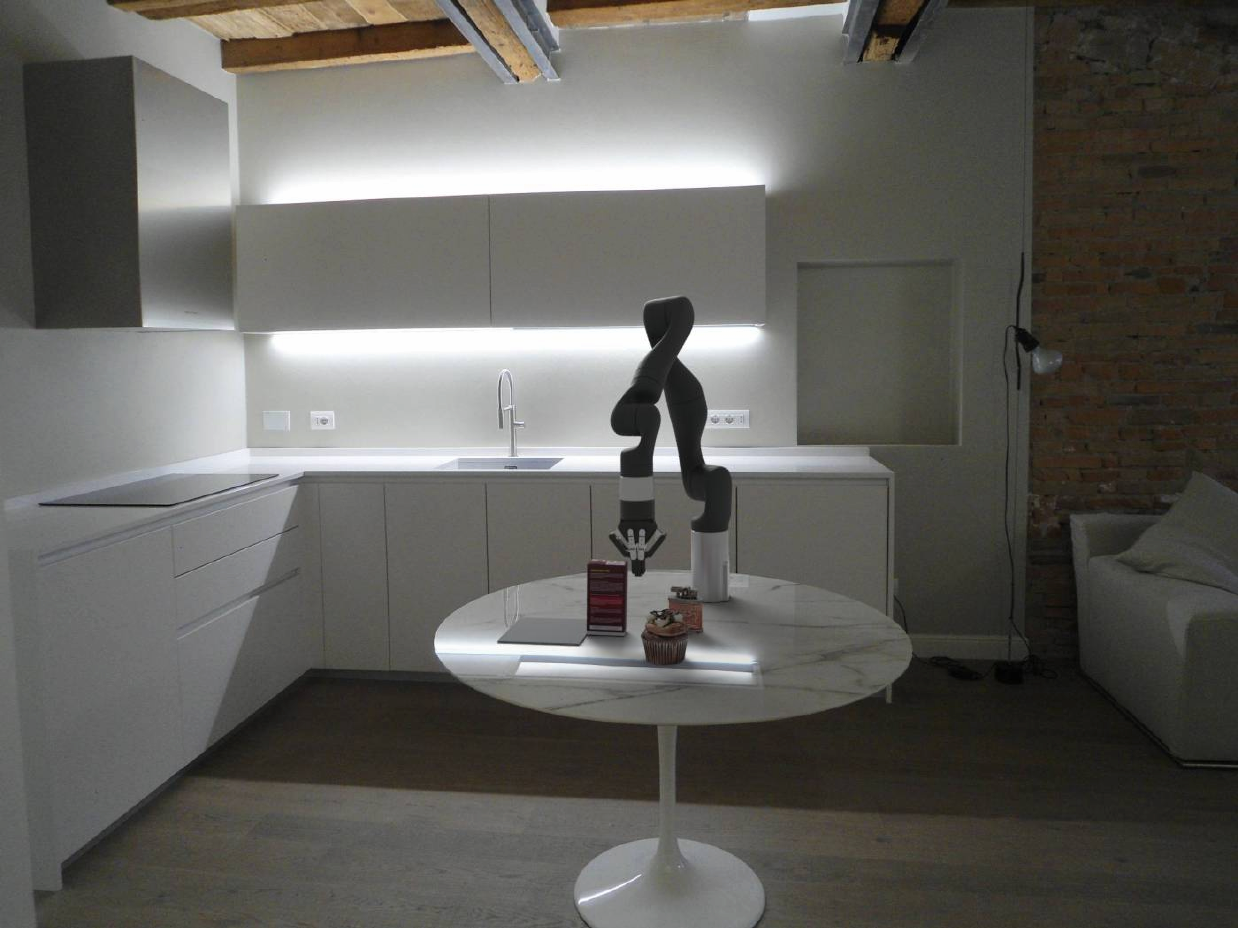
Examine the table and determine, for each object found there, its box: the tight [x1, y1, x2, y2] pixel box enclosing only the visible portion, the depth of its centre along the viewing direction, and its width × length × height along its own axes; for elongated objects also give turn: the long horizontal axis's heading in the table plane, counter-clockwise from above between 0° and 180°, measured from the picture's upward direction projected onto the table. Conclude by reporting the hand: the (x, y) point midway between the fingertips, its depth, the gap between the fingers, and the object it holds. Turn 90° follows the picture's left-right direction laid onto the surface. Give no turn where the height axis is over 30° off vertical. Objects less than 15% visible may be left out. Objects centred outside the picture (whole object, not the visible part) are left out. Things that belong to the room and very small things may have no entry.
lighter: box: [667, 585, 704, 635], centre depth 205 cm, size 8×3×10 cm, turn 65°
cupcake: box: [640, 608, 690, 666], centre depth 187 cm, size 10×10×10 cm
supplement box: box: [586, 558, 629, 637], centre depth 204 cm, size 9×5×16 cm, turn 84°
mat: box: [496, 616, 588, 646], centre depth 207 cm, size 18×18×1 cm
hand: (638, 575), depth 202 cm, fingers closed
